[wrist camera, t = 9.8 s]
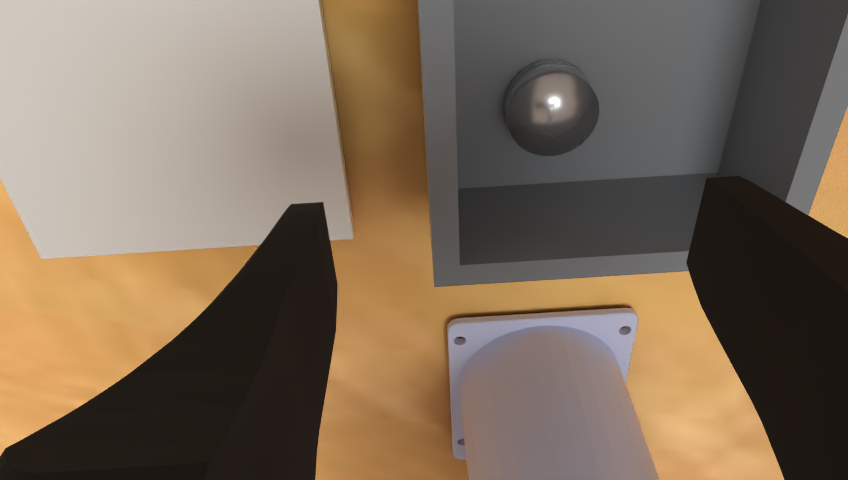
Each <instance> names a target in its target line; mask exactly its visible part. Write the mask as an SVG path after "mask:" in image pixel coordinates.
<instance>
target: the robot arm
mask: <svg viewBox="0 0 848 480" xmlns="http://www.w3.org/2000/svg"><path fill="white" fill-rule="evenodd" d="M686 264H687V267H688V270H689V273H690V276H691V279H692V282H693V285H694V288H695V290H696V293H697V296H698V298H699V301H700V304H701V306H702V309H703V310H704V312H705V314H706V316H707V318H708V320H709V322H710V324H711V326H712V328H713V330H714V332H715V334H716V336H717V337H718V339H719V341H720V343H721V345H722V347H723V349H724V350H725V352H726V354H727V356H728V358H729V360H730V362H731V363H732V365H733V367H734V369H735V371H736V373H737V375H738V376H739V378H740V380H741V382H742V384H743V386H744V388H745V389H746V391H747V393H748V395H749V397H750V399H751V401H752V403H753V405H754V407H755V409H756V411H757V413H758V415H759V417H760V419H761V421H762V424H763V426H764V428H765V431H766V433H767V436H768V438H769V441H770V443H771V446H772V449H773V451H774V454H775V456H776V459H777V461H778V464H779V466H780V469H781V471H782V474H783V477H784V480H848V238H846V237H844V236H842V235H840V234H839V233H837V232H835V231H834V230H832V229H830V228H828V227H827V226H825V225H823V224H822V223H820V222H818V221H816V220H815V219H813V218H811V217H810V216H808V215H806V214H805V213H803V212H801V211H800V210H798V209H796V208H795V207H793V206H791V205H790V204H788V203H786V202H785V201H783V200H782V199H780V198H778V197H777V196H775V195H773V194H771V193H770V192H768V191H766V190H765V189H763V188H761V187H759V186H758V185H756V184H754V183H752V182H750V181H748V180H746V179H744V178H742V177H740V176H729V177H713V178H706V182H705V186H704V190H703V194H702V199H701V203H700V207H699V211H698V215H697V220H696V224H695V228H694V232H693V236H692V241H691V245H690V249H689V253H688V257H687V262H686ZM336 313H337V279H336V274H335V268H334V262H333V256H332V250H331V244H330V238H329V233H328V227H327V221H326V215H325V209H324V203H323V202H316V203H300V204H291V205H290V206H289V207H288V208H287V209H286V210H285V212H284V213H283V214H282V216H281V217H280V219H279V220H278V221H277V223H276V224H275V226H274V227H273V228H272V230H271V231H270V233H269V234H268V235H267V237H266V238H265V239H264V241H263V242H262V243H261V245H260V246H259V247H258V249H257V250H256V251H255V252H254V254H253V255H252V256H251V258H250V259H249V260H248V261H247V263H246V264H245V265H244V266H243V268H242V269H241V270H240V271H239V273H238V274H237V275H236V276H235V277H234V278H233V280H232V281H231V282H230V283H229V284H228V285H227V286H226V287H225V288H224V290H223V291H222V292H221V293H220V294H219V295H218V296H217V297H216V299H215V300H214V301H213V302H212V303H211V304H210V305H209V306H208V307H207V308H206V309H205V310H204V311H203V312H202V313H201V314H200V315H199V316H198V317H197V318H196V319H195V320H194V321H193V322H192V323H191V324H190V325H189V326H187V327H186V328H185V329H184V330H183V331H182V332H181V333H180V334H179V335H178V336H176V337H175V338H174V339H173V340H172V341H171V342H169V343H168V344H167V345H166V346H164V347H163V348H162V349H160V350H159V351H158V352H157V353H155V354H154V355H153V356H151V357H150V358H149V359H148V360H146V361H145V362H144V363H143V364H141V365H140V366H139V367H137V368H136V369H135V370H134V371H132V372H131V373H130V374H128V375H127V376H125V377H124V378H122V379H121V380H120V381H118V382H117V383H115V384H114V385H112V386H111V387H109V388H108V389H107V390H105V391H103V392H102V393H100V394H99V395H97V396H96V397H94V398H93V399H91V400H90V401H88V402H86V403H85V404H83V405H82V406H80V407H78V408H77V409H75V410H74V411H72V412H70V413H69V414H67V415H65V416H63V417H62V418H60V419H58V420H56V421H55V422H53V423H51V424H49V425H47V426H46V427H44V428H42V429H40V430H38V431H37V432H35V433H33V434H31V435H30V436H28V437H26V438H24V439H22V440H21V441H19V442H17V443H15V444H13V445H11V446H9V447H7V448H5V450H4V452H3V453H2V455H1V456H0V480H315V473H316V456H317V445H318V437H319V429H320V423H321V417H322V411H323V405H324V399H325V393H326V387H327V381H328V375H329V369H330V363H331V357H332V351H333V344H334V338H335V332H336ZM637 324H638V316H637V314H636V312H635V311H634V310H633V309H631V308H613V309H597V310H581V311H565V312H549V313H533V314H517V315H501V316H485V317H469V318H457V319H453V320H452V321H450V322H449V324H448V326H447V333H448V357H449V380H450V404H451V428H452V450H453V456H454V457H455V458H456V459H459V460H466V463H467V473H468V480H659V477H658V474H657V472H656V469H655V466H654V463H653V460H652V457H651V455H650V452H649V449H648V446H647V443H646V440H645V438H644V435H643V432H642V429H641V426H640V423H639V421H638V418H637V415H636V412H635V409H634V406H633V404H632V401H631V398H630V395H629V392H628V389H627V387H626V380H627V375H628V370H629V365H630V360H631V355H632V350H633V345H634V339H635V334H636V329H637ZM624 326H627V327H625V328H622V327H624ZM456 337H463V338H460V339H458V338H456Z"/></svg>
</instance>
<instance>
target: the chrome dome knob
mask: <svg viewBox="0 0 848 480" xmlns="http://www.w3.org/2000/svg"><path fill="white" fill-rule="evenodd" d="M504 112H505V115H506V119H507V122H508V126H509V129H510V132H511V135H512V137H513V139H514V140H515V142H516V143H517V144H518V145H519V146H520V147H521V148H523V149H524V150H526V151H528V152H530V153H532V154H535V155H539V156H557V155H561V154H564V153H567V152H569V151H572V150H573V149H575V148H577V147H578V146H580V145H581V144H582V143H583V142H584V141H586V140H587V138H588V137H589V136H590V135H591V133H592V132H593V130H594V128H595V126H596V124H597V121H598V117H599V102H598V98H597V96H596V94H595V92H594V90H593V88H592V86H591V84H590V83H589V81H588V79H587V77H586V75H585V74H584V72H583V71H582V70H581V69H580V68H579V67H578V66H576V65H575V64H573V63H571V62H569V61H567V60H563V59H557V58H548V59H542V60H538V61H535V62H532V63H531V64H529V65H527V66H525V67H524V68H522V69H521V70H520V71H519V72H518V73H517V74H516V75H515V76H514V77H513V78H512V80H511V81H510V83H509V84H508V86H507V89H506V91H505V95H504Z"/></svg>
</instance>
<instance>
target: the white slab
mask: <svg viewBox="0 0 848 480" xmlns="http://www.w3.org/2000/svg"><path fill="white" fill-rule="evenodd" d="M0 179H1V181H2V183H3V185H4V187H5V189H6V191H7V193H8V195H9V196H10V198H11V200H12V202H13V204H14V206H15V208H16V210H17V212H18V214H19V216H20V218H21V220H22V222H23V224H24V226H25V228H26V230H27V232H28V234H29V236H30V238H31V240H32V242H33V244H34V246H35V248H36V250H37V251H38V253H39V255H40V257H41V259H50V258H65V257H81V256H97V255H113V254H128V253H144V252H160V251H175V250H191V249H207V248H223V247H238V246H254V245H261V243H262V242H263V241H264V239H265V238H266V237H267V235H268V234H269V233H270V231H271V230H272V228H273V227H274V226H275V224H276V223H277V221H278V220H279V219H280V217H281V216H282V214H283V213H284V212H285V210H286V209H287V208H288V207H289V206H290V205H291V204H300V203H316V202H323V203H324V209H325V215H326V221H327V227H328V233H329V238H330V241H333V240H348V239H353V238H354V225H353V218H352V211H351V204H350V197H349V190H348V183H347V176H346V169H345V162H344V155H343V148H342V141H341V134H340V127H339V120H338V113H337V106H336V99H335V92H334V85H333V78H332V71H331V64H330V57H329V50H328V43H327V36H326V29H325V22H324V15H323V8H322V1H321V0H0Z"/></svg>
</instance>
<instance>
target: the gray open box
mask: <svg viewBox="0 0 848 480" xmlns="http://www.w3.org/2000/svg"><path fill="white" fill-rule="evenodd" d="M417 16H418V33H419V51H420V68H421V86H422V103H423V120H424V138H425V155H426V173H427V190H428V205H429V219H430V233H431V246H432V260H433V273H434V287H442V286H458V285H474V284H490V283H506V282H522V281H538V280H554V279H570V278H586V277H602V276H618V275H634V274H650V273H666V272H681V271H689V270H688V267H687V264H686V262H687V257H688V253H689V249H690V245H691V241H692V236H693V232H694V228H695V224H696V220H697V215H698V211H699V207H700V203H701V199H702V194H703V190H704V186H705V182H706V178H713V177H729V176H740V177H742V178H744V179H746V180H748V181H750V182H752V183H754V184H756V185H758V186H759V187H761V188H763V189H765V190H766V191H768V192H770V193H771V194H773V195H775V196H777V197H778V198H780V199H782V200H783V201H785V202H786V203H788V204H790V205H791V206H793V207H795V208H796V209H798V210H800V211H801V212H803V213H805V214H806V215H808V214H809V211H810V209H811V206H812V203H813V200H814V198H815V195H816V192H817V189H818V186H819V184H820V181H821V178H822V175H823V173H824V170H825V167H826V164H827V161H828V159H829V156H830V153H831V150H832V148H833V145H834V142H835V139H836V136H837V134H838V131H839V128H840V125H841V123H842V120H843V117H844V114H845V111H846V109H847V106H848V0H417ZM548 58H557V59H563V60H567V61H569V62H571V63H573V64H575V65H576V66H578V67H579V68H580V69H581V70H582V71H583V72H584V74H585V75H586V77H587V79H588V81H589V83H590V84H591V86H592V88H593V90H594V92H595V94H596V96H597V98H598V102H599V117H598V121H597V124H596V126H595V128H594V130H593V132H592V133H591V135H590V136H589V137H588V138H587V140H586V141H584V142H583V143H582V144H581V145H580V146H578V147H577V148H575V149H573V150H572V151H569V152H567V153H564V154H561V155H557V156H539V155H535V154H532V153H530V152H528V151H526V150H524V149H523V148H521V147H520V146H519V145H518V144H517V143H516V142H515V140H514V139H513V137H512V135H511V132H510V129H509V126H508V122H507V119H506V115H505V112H504V95H505V91H506V89H507V86H508V84H509V83H510V81H511V80H512V78H513V77H514V76H515V75H516V74H517V73H518V72H519V71H520V70H521V69H522V68H524V67H525V66H527V65H529V64H531V63H532V62H535V61H538V60H542V59H548Z"/></svg>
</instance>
